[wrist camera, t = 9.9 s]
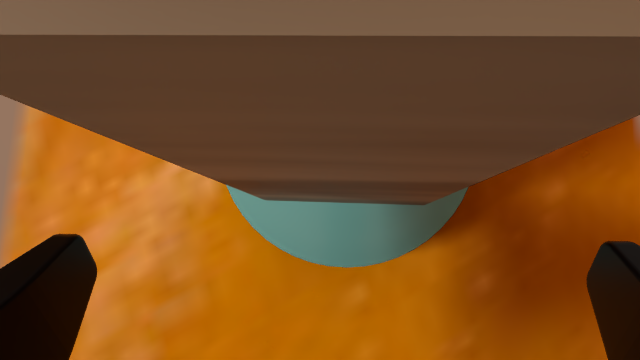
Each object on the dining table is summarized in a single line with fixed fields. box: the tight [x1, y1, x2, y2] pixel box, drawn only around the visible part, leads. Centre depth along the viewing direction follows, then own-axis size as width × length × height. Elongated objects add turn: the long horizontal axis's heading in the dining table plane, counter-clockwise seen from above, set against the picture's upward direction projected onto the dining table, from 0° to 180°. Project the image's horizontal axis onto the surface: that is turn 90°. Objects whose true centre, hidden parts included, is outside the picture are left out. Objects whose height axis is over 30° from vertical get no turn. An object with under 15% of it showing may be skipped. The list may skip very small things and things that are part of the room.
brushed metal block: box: [0, 0, 640, 205], centre depth 9 cm, size 5×5×13 cm
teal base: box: [227, 185, 468, 267], centre depth 17 cm, size 9×9×2 cm
